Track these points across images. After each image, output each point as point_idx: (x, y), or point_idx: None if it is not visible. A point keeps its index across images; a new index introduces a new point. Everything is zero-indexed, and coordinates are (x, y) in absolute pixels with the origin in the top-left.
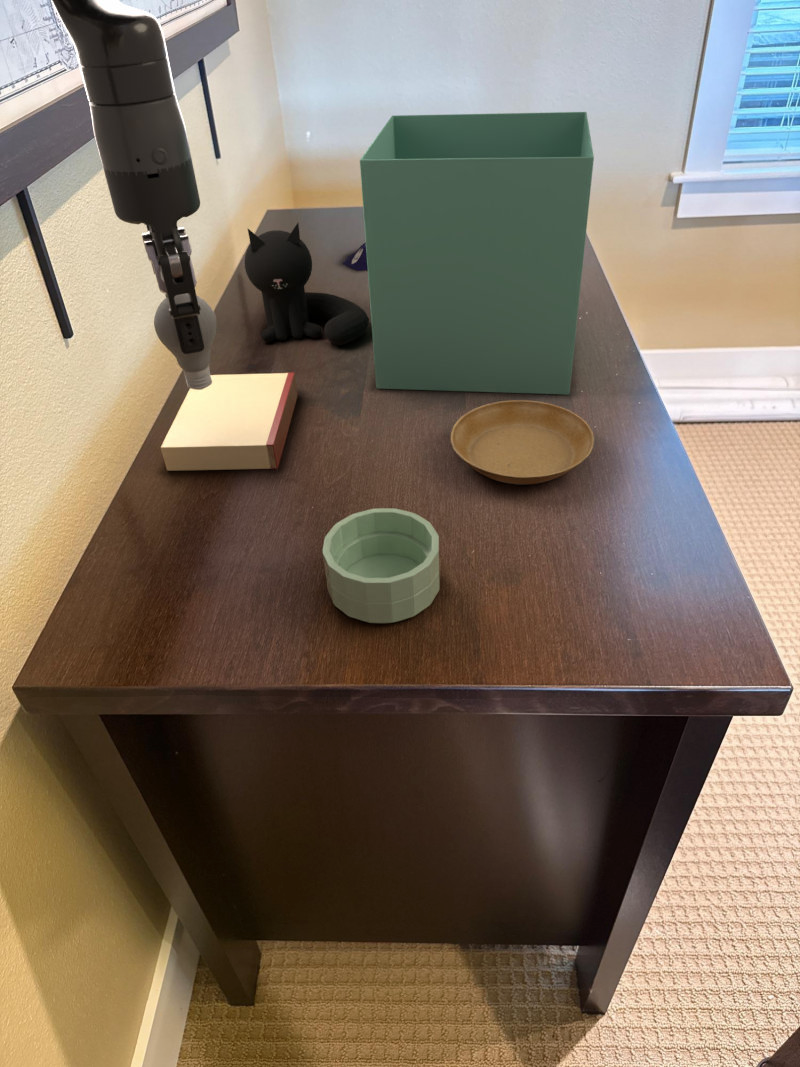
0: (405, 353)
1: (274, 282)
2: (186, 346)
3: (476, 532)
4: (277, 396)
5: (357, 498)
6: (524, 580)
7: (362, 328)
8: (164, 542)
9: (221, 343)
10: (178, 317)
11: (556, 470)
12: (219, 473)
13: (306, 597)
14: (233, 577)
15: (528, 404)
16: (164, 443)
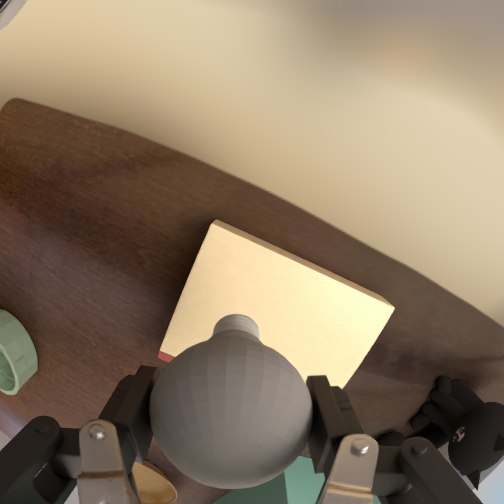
0: (265, 493)
1: (462, 432)
2: (121, 382)
3: (55, 412)
4: None
5: (98, 378)
6: (21, 402)
7: None
8: (82, 196)
9: (470, 332)
10: (76, 429)
11: None
12: (182, 280)
13: (8, 294)
14: (29, 250)
15: (170, 500)
16: (220, 230)
